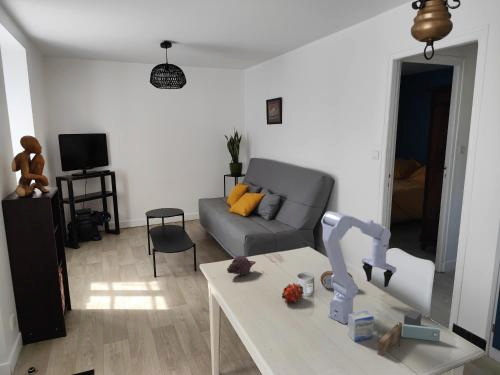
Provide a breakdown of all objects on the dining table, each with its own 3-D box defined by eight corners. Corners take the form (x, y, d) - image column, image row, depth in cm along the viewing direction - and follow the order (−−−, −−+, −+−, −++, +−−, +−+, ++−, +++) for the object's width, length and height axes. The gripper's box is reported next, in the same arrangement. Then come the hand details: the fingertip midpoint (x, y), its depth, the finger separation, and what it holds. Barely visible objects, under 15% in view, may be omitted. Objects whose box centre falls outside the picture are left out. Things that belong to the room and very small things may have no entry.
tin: (352, 287, 164) (352, 270, 163) (353, 290, 161) (354, 273, 159) (320, 286, 166) (320, 270, 164) (320, 289, 162) (321, 272, 161)
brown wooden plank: (382, 356, 115) (382, 342, 114) (377, 354, 117) (378, 340, 116) (402, 336, 126) (403, 323, 125) (397, 334, 127) (398, 321, 126)
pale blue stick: (403, 338, 124) (404, 327, 123) (402, 335, 126) (403, 324, 125) (440, 343, 121) (441, 331, 120) (438, 339, 123) (439, 328, 122)
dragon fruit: (305, 300, 156) (284, 312, 150) (293, 285, 160) (273, 295, 154) (311, 291, 150) (290, 303, 144) (299, 275, 154) (278, 286, 148)
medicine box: (353, 342, 123) (354, 320, 122) (347, 334, 128) (348, 313, 126) (373, 338, 125) (374, 316, 124) (365, 331, 130) (366, 310, 128)
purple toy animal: (232, 282, 171) (232, 263, 169) (221, 276, 179) (220, 258, 177) (259, 272, 182) (259, 254, 180) (248, 267, 190) (247, 249, 188)
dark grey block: (414, 331, 129) (415, 319, 128) (403, 327, 132) (404, 315, 131) (420, 325, 133) (421, 313, 132) (410, 320, 136) (411, 309, 135)
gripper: (400, 255, 142) (398, 285, 145) (367, 246, 153) (366, 275, 155) (392, 260, 137) (390, 291, 140) (359, 250, 148) (358, 280, 150)
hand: (377, 283), depth 147 cm, fingers open, 7 cm apart
